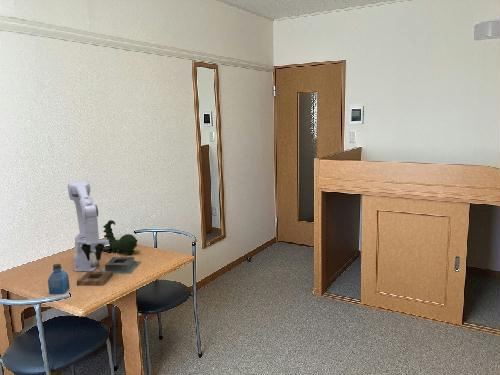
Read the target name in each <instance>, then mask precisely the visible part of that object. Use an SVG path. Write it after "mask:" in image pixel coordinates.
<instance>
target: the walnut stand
mask: <svg viewBox="0 0 500 375" xmlns="http://www.w3.org/2000/svg"><path fill="white" fill-rule="evenodd" d="M113 276H114V274H113V271H101V270H99V271H98V270H97V271H95V270H94V271H86V273H85V274H83V275H82V276H81V277H80V278H79V279H77V280H76V285H77V286H105V284H107V282H108V281H109V280H110V279H111V278H112V277H113ZM91 278H92V279H91Z"/></svg>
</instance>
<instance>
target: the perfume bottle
mask: <svg viewBox="0 0 500 375" xmlns="http://www.w3.org/2000/svg"><path fill="white" fill-rule="evenodd" d="M61 265H62V264H61V263H55V264H53V265H52V272H51V274H50V276H49V278H48V280H47V286H48V294H49V295H64V294H65V293H67V291H68V290H69V289H70V278H69V274H68V272H66V271H65V270H62V266H61Z"/></svg>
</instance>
